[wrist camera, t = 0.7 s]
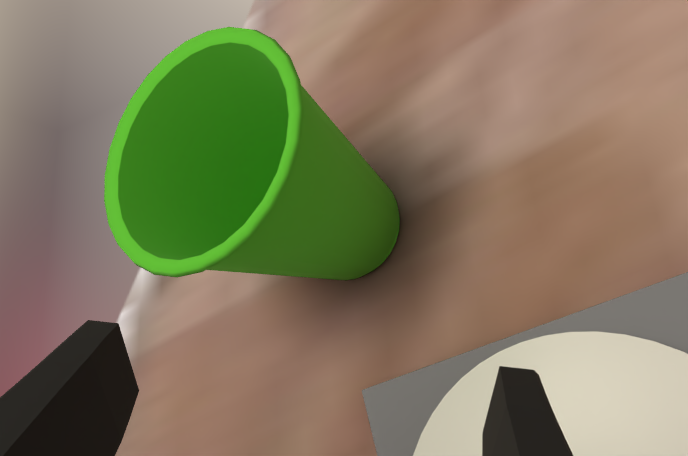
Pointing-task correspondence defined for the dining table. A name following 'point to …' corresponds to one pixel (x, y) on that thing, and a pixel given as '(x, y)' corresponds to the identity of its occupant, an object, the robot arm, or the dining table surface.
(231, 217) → the cup
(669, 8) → the dining table surface
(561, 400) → the lid
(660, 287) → the mat
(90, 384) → the robot arm
